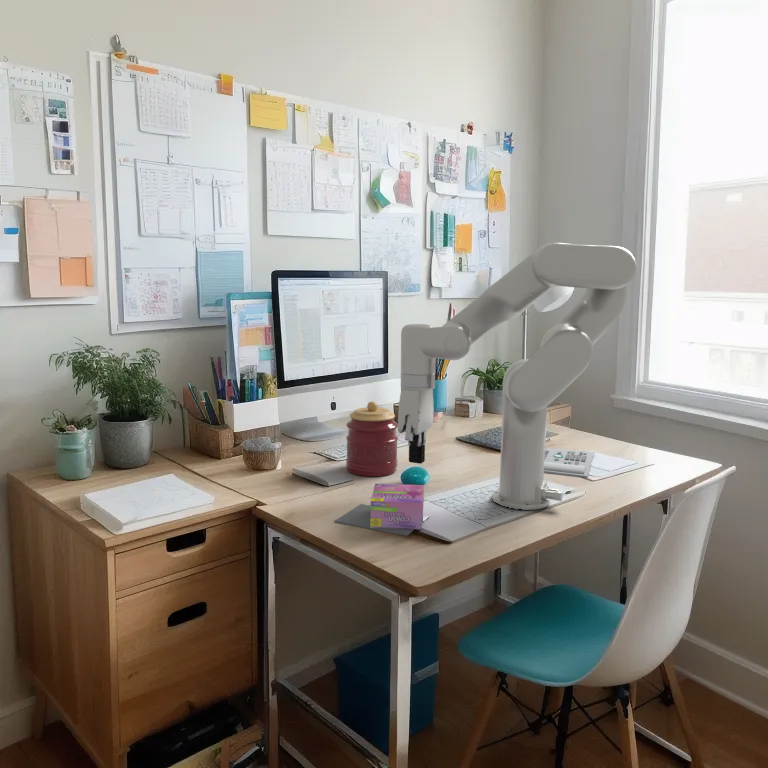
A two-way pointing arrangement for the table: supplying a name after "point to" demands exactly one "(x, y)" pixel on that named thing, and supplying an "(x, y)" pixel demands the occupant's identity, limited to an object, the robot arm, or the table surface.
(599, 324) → the robot arm
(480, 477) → the table surface
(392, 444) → the canister
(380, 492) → the box
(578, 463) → the office telephone
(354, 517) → the mat
